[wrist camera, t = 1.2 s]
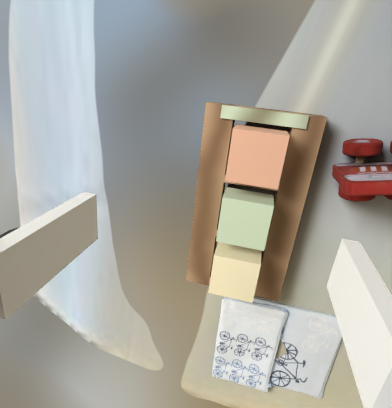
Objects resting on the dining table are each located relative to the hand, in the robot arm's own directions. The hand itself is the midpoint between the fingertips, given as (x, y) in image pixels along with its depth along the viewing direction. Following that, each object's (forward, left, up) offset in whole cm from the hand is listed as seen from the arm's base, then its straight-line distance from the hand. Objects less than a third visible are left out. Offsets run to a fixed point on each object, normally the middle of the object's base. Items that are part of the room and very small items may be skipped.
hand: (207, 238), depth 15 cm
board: (-2, +8, -26) cm, 28 cm away
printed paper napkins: (-11, +33, -27) cm, 44 cm away
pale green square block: (-2, +8, -23) cm, 24 cm away
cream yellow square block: (-2, +16, -23) cm, 28 cm away
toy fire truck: (-17, 0, -27) cm, 32 cm away
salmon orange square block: (-2, 0, -23) cm, 23 cm away
